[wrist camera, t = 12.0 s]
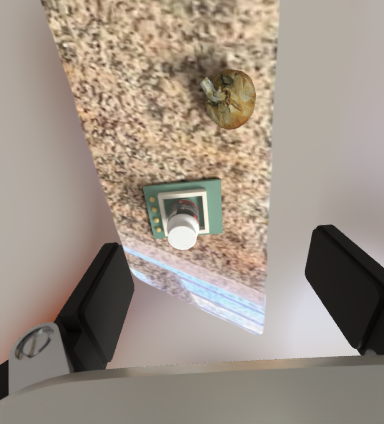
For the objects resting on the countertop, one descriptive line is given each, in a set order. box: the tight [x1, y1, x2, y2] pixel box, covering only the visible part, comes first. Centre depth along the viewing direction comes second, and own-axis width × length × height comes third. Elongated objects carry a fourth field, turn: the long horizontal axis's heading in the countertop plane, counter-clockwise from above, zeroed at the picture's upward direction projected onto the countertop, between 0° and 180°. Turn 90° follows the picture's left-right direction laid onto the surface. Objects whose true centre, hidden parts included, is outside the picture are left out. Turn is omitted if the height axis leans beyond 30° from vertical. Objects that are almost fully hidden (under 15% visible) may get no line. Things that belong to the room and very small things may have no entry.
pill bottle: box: [167, 199, 199, 250], centre depth 37 cm, size 6×6×10 cm
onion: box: [200, 69, 256, 129], centre depth 30 cm, size 8×8×8 cm
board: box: [143, 178, 223, 239], centre depth 42 cm, size 12×15×3 cm
